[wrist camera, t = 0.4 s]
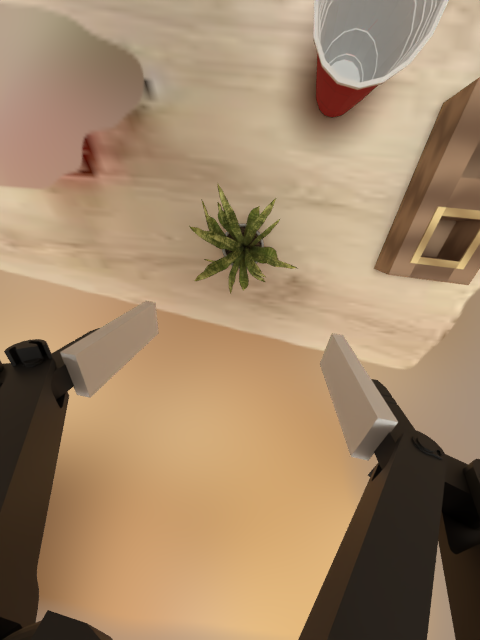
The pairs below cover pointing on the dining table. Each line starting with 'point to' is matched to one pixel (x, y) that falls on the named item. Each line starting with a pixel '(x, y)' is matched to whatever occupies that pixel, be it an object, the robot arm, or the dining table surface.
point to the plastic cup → (366, 45)
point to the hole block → (442, 201)
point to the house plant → (239, 243)
